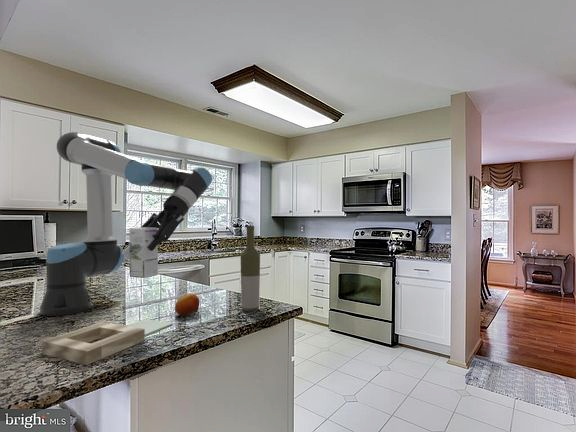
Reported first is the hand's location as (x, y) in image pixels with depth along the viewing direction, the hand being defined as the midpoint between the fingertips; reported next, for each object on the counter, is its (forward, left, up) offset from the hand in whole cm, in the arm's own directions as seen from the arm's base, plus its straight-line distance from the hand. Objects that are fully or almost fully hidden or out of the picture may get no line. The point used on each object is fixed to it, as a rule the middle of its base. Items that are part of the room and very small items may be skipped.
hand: (132, 257), depth 94 cm
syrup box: (+1, +3, -6) cm, 7 cm away
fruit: (+3, +20, -22) cm, 30 cm away
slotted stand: (+1, -12, -21) cm, 24 cm away
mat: (+1, +4, -21) cm, 22 cm away
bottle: (+20, +33, -22) cm, 44 cm away
